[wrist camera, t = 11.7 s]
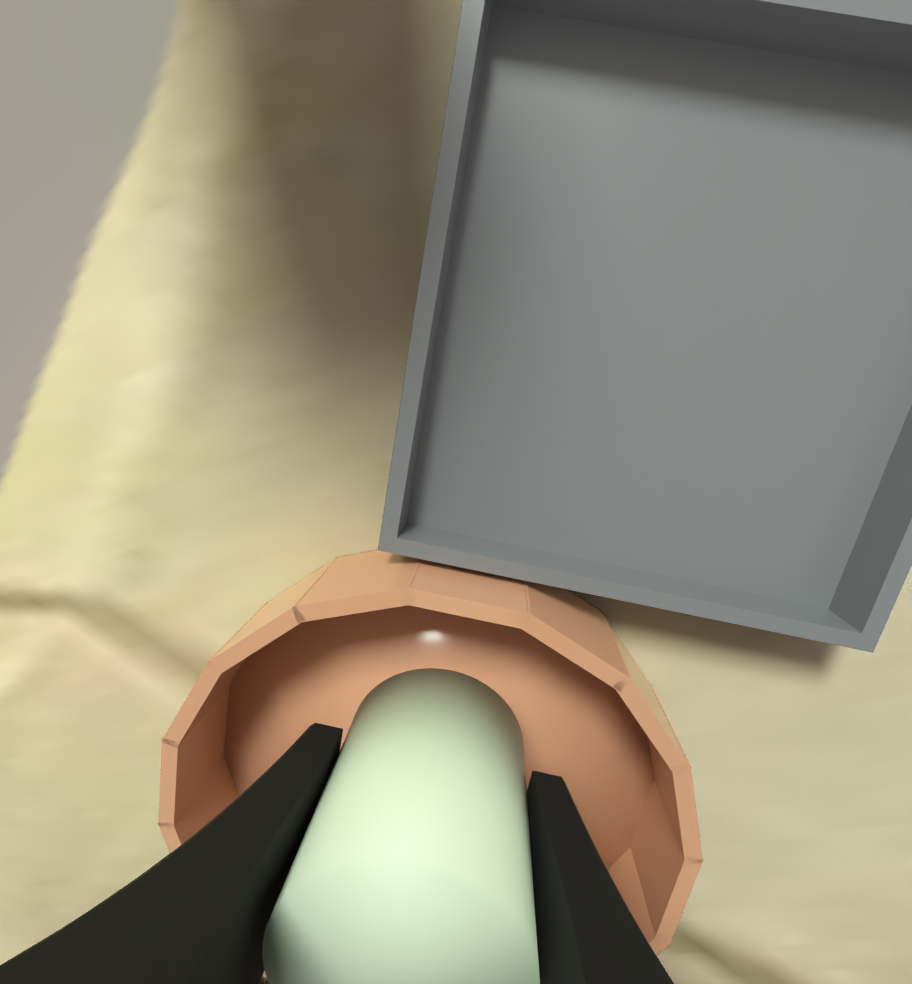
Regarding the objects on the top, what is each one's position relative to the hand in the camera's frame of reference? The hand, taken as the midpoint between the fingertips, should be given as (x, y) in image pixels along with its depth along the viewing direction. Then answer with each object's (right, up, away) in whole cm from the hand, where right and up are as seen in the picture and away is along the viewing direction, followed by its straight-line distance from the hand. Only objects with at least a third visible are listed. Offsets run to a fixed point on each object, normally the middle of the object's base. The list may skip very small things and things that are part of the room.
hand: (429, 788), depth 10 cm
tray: (+6, +10, +1) cm, 11 cm away
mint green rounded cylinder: (0, 0, +1) cm, 1 cm away
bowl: (0, -2, +5) cm, 5 cm away
